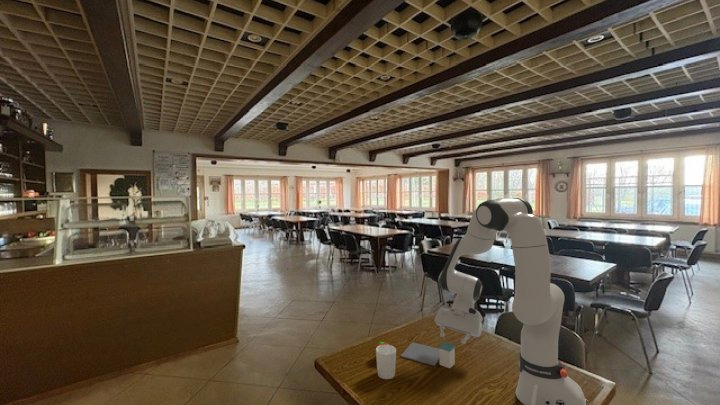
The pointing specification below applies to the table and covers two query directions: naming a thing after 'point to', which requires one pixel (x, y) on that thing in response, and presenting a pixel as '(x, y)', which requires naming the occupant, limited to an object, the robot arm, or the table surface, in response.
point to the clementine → (382, 343)
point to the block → (447, 354)
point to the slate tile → (422, 354)
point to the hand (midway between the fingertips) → (451, 339)
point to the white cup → (386, 361)
